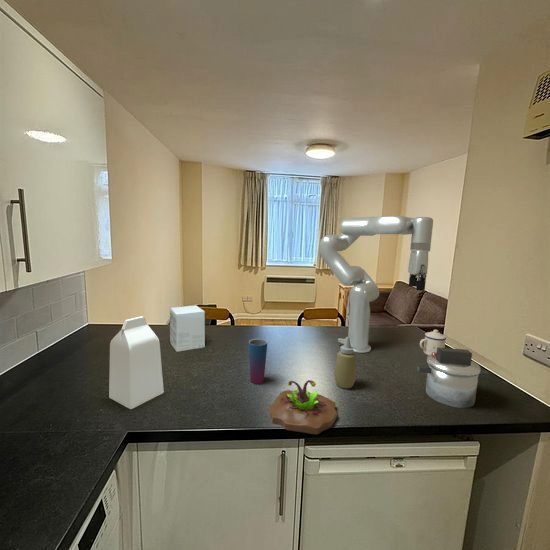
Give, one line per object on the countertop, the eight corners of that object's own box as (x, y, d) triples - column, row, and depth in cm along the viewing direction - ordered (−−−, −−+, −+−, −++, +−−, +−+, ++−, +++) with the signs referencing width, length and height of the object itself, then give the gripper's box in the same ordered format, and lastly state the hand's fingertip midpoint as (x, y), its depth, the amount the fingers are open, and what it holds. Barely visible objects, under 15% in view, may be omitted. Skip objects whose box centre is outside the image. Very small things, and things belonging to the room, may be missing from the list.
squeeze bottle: (343, 392, 108) (346, 343, 106) (328, 382, 115) (331, 335, 113) (360, 387, 112) (364, 339, 109) (345, 378, 119) (348, 333, 116)
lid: (437, 374, 100) (439, 357, 99) (420, 355, 116) (421, 340, 115) (490, 378, 98) (492, 361, 97) (465, 358, 114) (467, 343, 113)
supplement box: (196, 338, 156) (196, 304, 154) (205, 347, 145) (205, 311, 143) (169, 342, 149) (169, 307, 147) (176, 352, 138) (175, 314, 136)
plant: (327, 443, 82) (329, 403, 81) (260, 423, 90) (262, 387, 88) (341, 405, 100) (344, 372, 99) (285, 391, 108) (286, 361, 106)
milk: (130, 409, 94) (128, 326, 90) (109, 397, 100) (105, 319, 96) (163, 392, 104) (162, 317, 100) (142, 383, 110) (140, 311, 106)
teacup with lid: (435, 349, 152) (438, 326, 150) (448, 357, 143) (451, 333, 142) (413, 350, 150) (415, 327, 149) (425, 358, 141) (427, 333, 140)
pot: (423, 404, 102) (426, 372, 101) (409, 382, 117) (411, 354, 115) (496, 411, 100) (501, 378, 98) (472, 388, 114) (476, 359, 113)
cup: (268, 378, 116) (270, 340, 114) (262, 386, 110) (263, 346, 108) (252, 375, 118) (253, 337, 116) (244, 383, 112) (245, 343, 110)
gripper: (404, 246, 137) (401, 284, 139) (417, 248, 120) (413, 291, 122) (422, 246, 136) (418, 285, 138) (438, 248, 119) (433, 292, 121)
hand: (416, 288), depth 130 cm, fingers open, 9 cm apart
